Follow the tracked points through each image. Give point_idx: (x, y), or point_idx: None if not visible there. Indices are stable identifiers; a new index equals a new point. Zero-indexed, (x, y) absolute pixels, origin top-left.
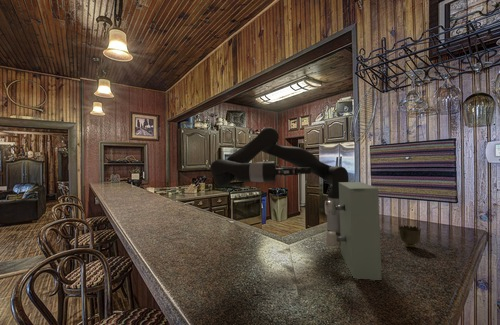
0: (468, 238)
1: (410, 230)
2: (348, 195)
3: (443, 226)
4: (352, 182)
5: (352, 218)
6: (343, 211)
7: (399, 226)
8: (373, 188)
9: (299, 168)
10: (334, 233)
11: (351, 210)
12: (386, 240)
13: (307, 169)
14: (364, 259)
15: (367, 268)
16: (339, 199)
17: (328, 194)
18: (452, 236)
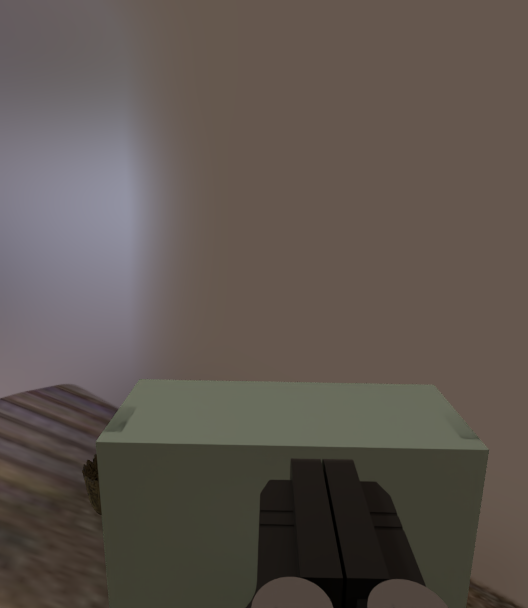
0: (99, 411)
1: (97, 469)
2: (433, 491)
3: (2, 408)
4: (146, 400)
5: (464, 592)
6: (250, 600)
7: (88, 478)
8: (441, 394)
9: (419, 602)
10: None
11: (470, 558)
12: (37, 556)
13: (389, 506)
14: None
15: None
16: (114, 551)
17: None
18: (77, 423)
